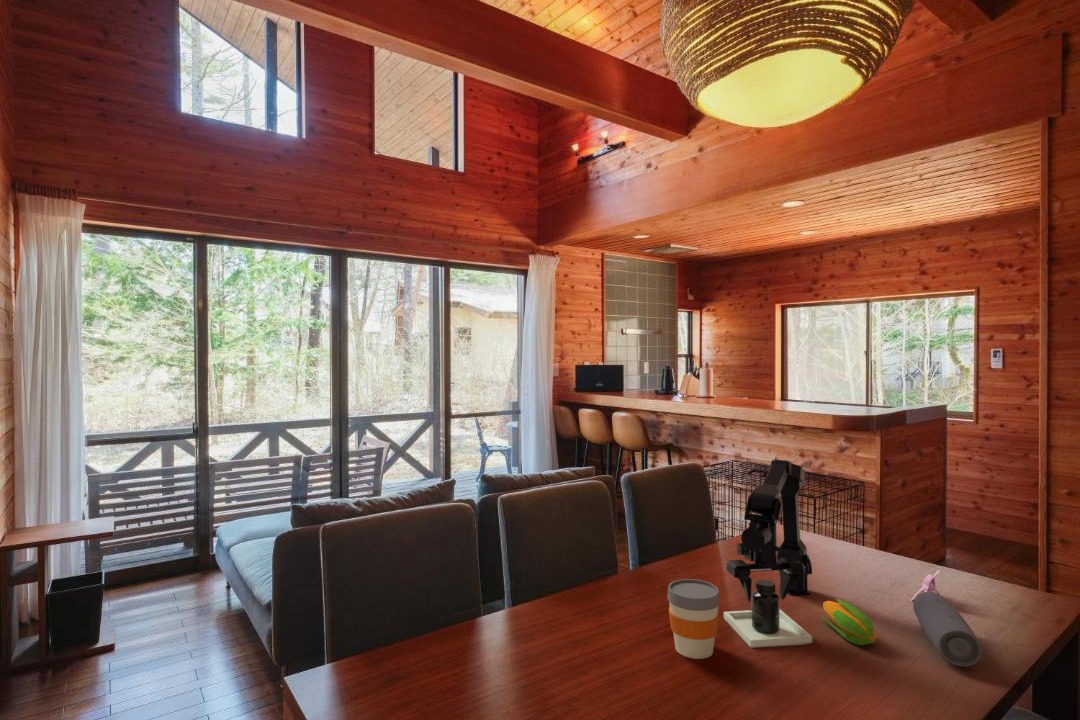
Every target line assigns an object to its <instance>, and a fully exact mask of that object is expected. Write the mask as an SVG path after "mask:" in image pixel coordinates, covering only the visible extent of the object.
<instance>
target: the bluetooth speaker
mask: <svg viewBox="0 0 1080 720" xmlns="http://www.w3.org/2000/svg"><path fill="white" fill-rule="evenodd" d="M938 593H939V592H938ZM938 593H937V592H935V591H931V592H920V593H918V594H917V595H916V596H915V597H914V599H913V603H912V606H913V611H914V614H915V616H916V618H917V620H918V623H919V624H920V627H921V628H922V630H923V632H924V634H925V636H926V637H927V639H928V640H929V641H930V642H931V644H932V645H933V647H935V649H936V651H937V652H938V653H939V654H940V655H941V656H942V657H943V658H944V659H945V661H947V662H949V663H950V664H951V665H954V666H957V667H971V666H974V665H975V664H977V663H978V662H979V661H980V659H981V658H982V655H983V650H982V646H981V643H980V641H979V638H978V637H977V636H976V634H975V633H974V631H973V629H972V628H971V627H970V625H969V624H968V623H967V621H966V620H965V619H964V617H963V616H962V615H961V614H960V612H959V611H958V610H957V609H956V608H955V607H954V606H953V605H952V603H951V602H950V601H949V600H947V599H946V597H944V596H942V595H941V593H939V594H938Z"/></svg>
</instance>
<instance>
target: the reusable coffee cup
mask: <svg viewBox="0 0 1080 720" xmlns="http://www.w3.org/2000/svg"><path fill="white" fill-rule="evenodd" d="M666 599H667V600H668V603H669V606H668V615H669V622H670V629H671V631H672V633H673V638H674V646H675V647H674V648H675V650H676V652H677V653H679V654H680V656H681V655H682V656H683V657H686V658H687V659H696V660H699V659H700V660H702V659H707V658H709V657H711V656H712V655H713V653H714V647H715V638H716V637H715V636H717V634H718V627H719V620H720V619H719V618H720V612H719V606H720V604H721V598H720V590H719V588H718V587H717V586H716V585H715V584H713V583H711V582H708V581H704V580H701V579H695V578H694V579H693V578H692V579H691V578H684V579H678V580H673V581H671V582H670V583H668V586H667V597H666Z"/></svg>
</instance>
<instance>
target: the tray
mask: <svg viewBox="0 0 1080 720" xmlns="http://www.w3.org/2000/svg"><path fill="white" fill-rule="evenodd" d="M779 617H780V627H779V631H778V632H777V633H774V634H765V633H761V632H758V631H756V630H755V629H754V628H753V627H752V609H751V610H734V611H732V610H731V611H723V619H724V620H725V621H726V622H727V624H728V625H729V626H730V627H731V628H732V629H733V630H734V631H735V633H737V634H738V635H739V637H740V638H741V639H742V640H743V641H744V642H745V643H746V644H747V646H748V647H749V648H752V649H753V648H765V647H766V648H767V647H768V648H769V647H783V646H784V647H785V646H797V645H811V644H812V645H813V636H812V634H810V633H808V632H807V630H805V629H804V628H803V627H802V626H800V625H799V624H798V623H797V621H795V620H793V618H791V617H790V616H789V615H788V614H786V613H785V612H784V611H783V610H782V609H781V608H779Z"/></svg>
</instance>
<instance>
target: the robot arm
mask: <svg viewBox="0 0 1080 720" xmlns="http://www.w3.org/2000/svg"><path fill="white" fill-rule="evenodd" d="M805 478H806V472H805V469H804V468H803V467H802V466H800V465H798V464H795V463H793V462H792V461H789V460H784V459H774V460H773V459H772V460H771V463H770V468H769V471H768V473H767V475H766V477H765V478H764V481H763V483H762V485H759V486H757V487H754V488H753V490H752V491H751V493H750V494H749V495H748V497H747V501H746V505H745V506H746V507H745V512H744V516H743V517H744V520H745V521H749V524H748V527H747V528H745V529H744V530H743V531H742V533H741V536H740V539H741V542H742V543H741V542H739V543H737V544H736V551H737V555H738V556H744V558H743V559H745V560H746V559H747V560H748V561H750V562H753V563H747V562H745V561H744V560H742V559H729V560H728V561H727V563H726V571H727V572H728V573H729V574H730V575H732V576H733V577H734V578H736V579H737V580H739V582H740V585H741V587H742V590H743V592H744V595H745V598H746V601H747V602H751V601H752V580H753V579H752V578H751V574H752V573H751V572H767V571H778V572H779V576H780V577H779V578H780V579H779V580H780V581H779V582H780V583H779V595H780V597H779V598H780V599H781V600H785V599H786V598H787V597H786V596H787V594H789V595H791V596H795V595H796V596H797V595H798V596H799V595H811V591H810V590H809V589H808V576H809V575H813V566H812V561H811V559H810V555H809V554H808V550H807V548H808V547H807V546H806V545H805V542H803V540H802V539H801V531H800V527H801V526H800V512H799V511H800V510H799V509H800V507H799V494H798V493H799V491H800V489H801V488H802V486H803V485H804V482H805ZM780 495H781V498H780ZM781 514H782V530H783V532H782V533H783V541H782V542H781V544H780V546H777V523H778V521H780V520H781V519H780V518H781Z"/></svg>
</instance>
